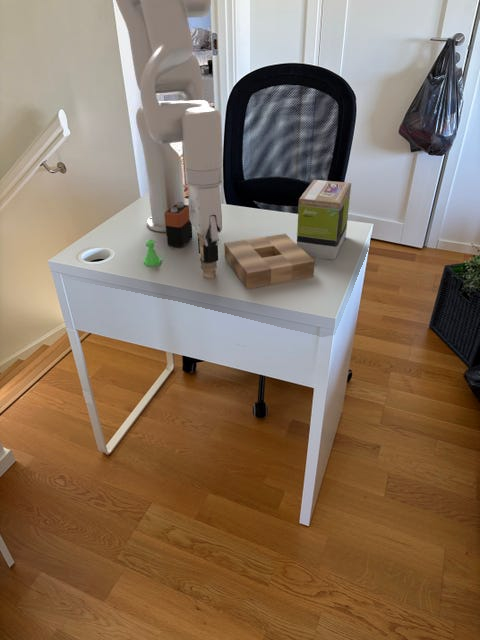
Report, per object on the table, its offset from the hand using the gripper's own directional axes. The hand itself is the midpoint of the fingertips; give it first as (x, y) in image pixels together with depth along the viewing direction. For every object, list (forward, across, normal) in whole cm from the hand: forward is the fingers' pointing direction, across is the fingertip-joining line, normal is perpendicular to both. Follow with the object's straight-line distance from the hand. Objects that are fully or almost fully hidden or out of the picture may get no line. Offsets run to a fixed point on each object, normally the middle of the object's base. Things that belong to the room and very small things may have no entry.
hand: (208, 256), depth 103 cm
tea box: (+5, -5, +32) cm, 32 cm away
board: (+5, +1, +14) cm, 15 cm away
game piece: (+5, -11, -11) cm, 16 cm away
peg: (+5, 0, 0) cm, 5 cm away
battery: (+5, -20, -2) cm, 21 cm away
